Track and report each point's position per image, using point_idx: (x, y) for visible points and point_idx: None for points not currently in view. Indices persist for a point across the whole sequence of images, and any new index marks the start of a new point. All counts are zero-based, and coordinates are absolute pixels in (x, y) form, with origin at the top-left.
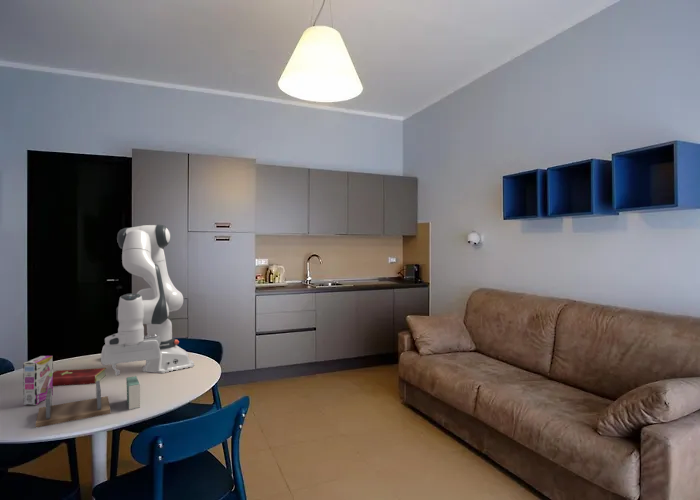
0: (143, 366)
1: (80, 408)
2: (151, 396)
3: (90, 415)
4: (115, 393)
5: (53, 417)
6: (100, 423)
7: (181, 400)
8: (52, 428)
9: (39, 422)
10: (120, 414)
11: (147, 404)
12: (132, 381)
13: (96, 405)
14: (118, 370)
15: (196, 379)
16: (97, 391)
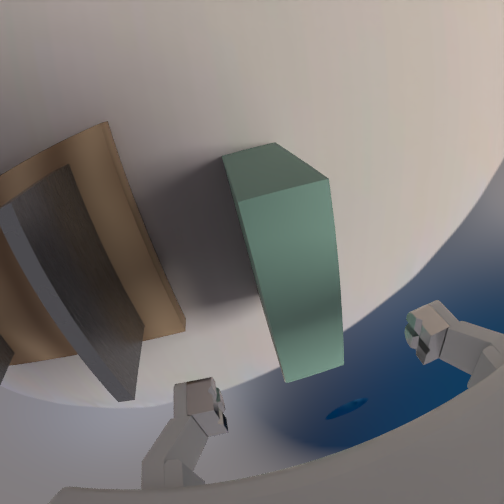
0: (435, 336)
1: None
2: (350, 136)
3: None
4: (127, 13)
5: (14, 344)
6: (182, 382)
7: (444, 241)
8: (52, 375)
9: None
10: (230, 333)
11: None
12: (303, 321)
13: None
14: (214, 429)
15: (496, 4)
16: (121, 400)
